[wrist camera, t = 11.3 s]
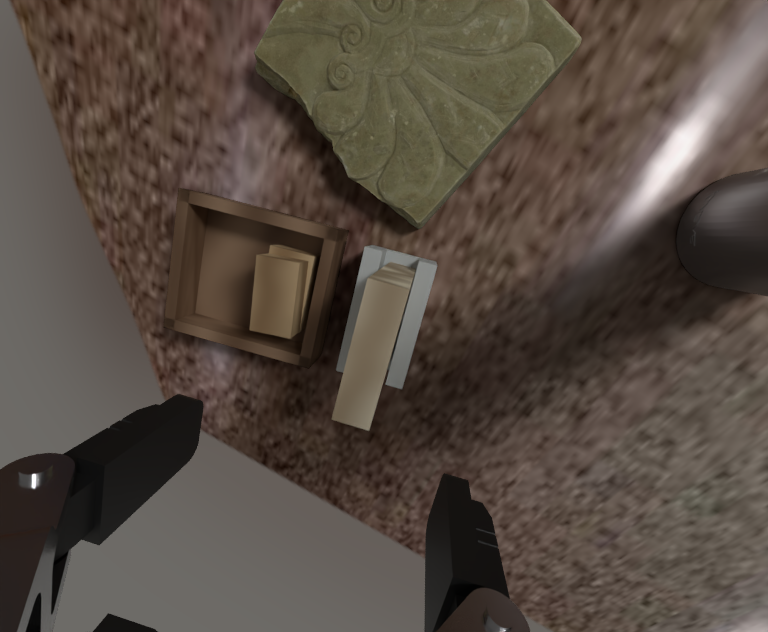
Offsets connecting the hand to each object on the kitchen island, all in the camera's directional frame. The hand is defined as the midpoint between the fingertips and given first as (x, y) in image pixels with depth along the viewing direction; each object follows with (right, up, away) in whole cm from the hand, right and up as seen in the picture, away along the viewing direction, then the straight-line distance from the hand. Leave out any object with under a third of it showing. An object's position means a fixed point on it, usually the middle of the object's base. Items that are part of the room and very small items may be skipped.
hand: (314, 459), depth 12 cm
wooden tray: (-9, +8, +24) cm, 27 cm away
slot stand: (+3, +5, +23) cm, 24 cm away
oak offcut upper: (-7, +7, +21) cm, 23 cm away
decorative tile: (+4, +25, +19) cm, 32 cm away
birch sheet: (+3, +5, +22) cm, 23 cm away
